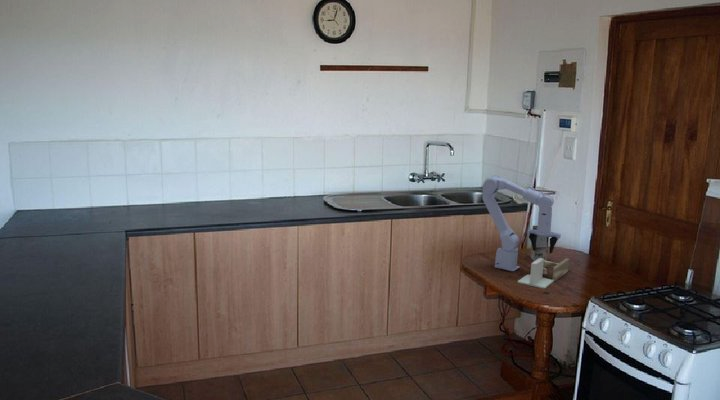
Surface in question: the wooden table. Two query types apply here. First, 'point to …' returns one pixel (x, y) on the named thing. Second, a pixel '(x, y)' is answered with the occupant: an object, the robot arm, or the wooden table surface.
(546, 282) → the mat
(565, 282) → the wooden table surface
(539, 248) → the coffee box
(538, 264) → the gray rectangular slab
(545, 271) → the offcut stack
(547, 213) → the robot arm
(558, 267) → the corner fence
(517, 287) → the wooden table surface
